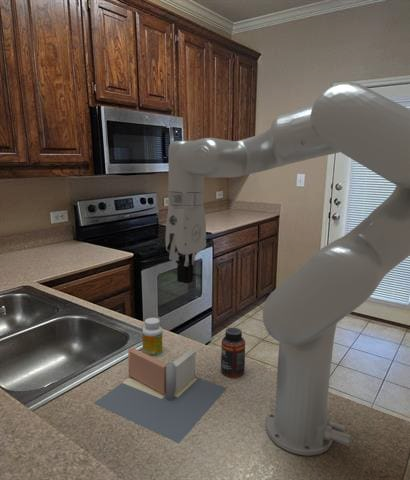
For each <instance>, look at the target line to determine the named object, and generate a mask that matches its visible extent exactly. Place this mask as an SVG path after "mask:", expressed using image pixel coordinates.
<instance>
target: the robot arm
mask: <svg viewBox="0 0 410 480" xmlns="http://www.w3.org/2000/svg"><path fill="white" fill-rule="evenodd" d="M338 153H341V154H343V155H345V156H346V157H348V158H349V159H351V160H353V161H354V162H356V163H358V164H360V165H361V166H363V167H364V168H366V169H368V170H370V171H371V172H373V173H375V174H376V175H378V176H380V177H382V178H383V179H385V180H386V181H388V182H389V183H392V184H393V185H395V188H394V190H393V192H391V194H390V195H389V196H388V197H387V198H386V199H384V201H383V202H381V203H380V205H378V206H377V207H376V208H375V209H374V210H373V211H372V212H370V213H369V214H368V216H367V217H365V218H364V219H362V221H361V222H360V223H358V224H357V225H356V226H355V227H354V228H352V229H351V230H350V231H349V232H348V233H346V234H345V235H343V236H341V237H339V238H337V239H336V240H333V241H332V242H330V243H329V244H327V245H325V246H323V247H322V248H321V249H319V250H318V251H317V252H315V253H314V254H313V255H312V256H311V257H310V258H309V259H307V260H306V261H305V262H303V264H302V265H300V266H299V268H297V269H296V271H294V272H293V273H292V274H291V275H290V276H288V278H286V279H285V280H284V281H283V282H282V283H280V285H278V287H276V288H275V289H274V290H273V291H272V292H271V293H269V295H268V296H267V298H266V300H265V302H264V304H263V307H262V322H263V325H264V329H265V330H266V331H267V333H268V334H269V336H271V337H272V339H273V340H275V341H277V342H278V344H279V345H278V355H277V356H278V358H277V370H276V371H277V375H276V389H275V402H274V403H275V404H274V409H272V411H270V412H269V413H268V414H267V417H266V421H265V429H266V433H267V434H268V437H269V438H270V439H271V440H272V442H274V444H276V445H277V446H278V447H280V448H281V449H284V450H286V451H287V452H289V453H292V454H295V455H300V456H317V455H320V454H323V453H324V452H326V451H327V450H329V449H330V447H331V446H332V444H333V441H334V442H336V443H338V444H341V445H342V446H345V447H349V446H350V442H351V441H350V440H351V435H350V434H349V433H346V432H345V431H346V425H344V424H341V423H337V422H334V421H333V420H332V419H330V416H331V415H330V414H331V411H329V410H328V409H327V408H328V401H329V399H328V398H329V389H330V379H331V367H332V359H333V350H334V341H335V334H336V330H337V329H336V328H337V323H339V322H341V321H342V320H343V319H344V318H346V317H348V315H350V314H351V313H352V312H354V311H355V310H357V309H358V308H359V307H361V306H362V305H363V304H364V303H365V302H366V301H367V300H369V298H370V297H371V296H372V295H373V294H374V292H375V291H376V289H377V288H378V286H379V285H380V284H381V282H382V281H383V279H384V278H385V277H386V276H387V274H388V273H389V272H391V271H392V270H394V269H395V268H396V267H397V266H398V265H400V264H401V263H402V262H403V261H405V260H406V259H407V258H409V257H410V108H408V107H406V106H404V105H403V104H400V103H398V102H396V101H393V100H392V99H390V98H388V97H386V96H383V95H381V94H380V93H377V91H374V90H373V89H370V88H368V86H365V85H362V84H360V83H356V82H352V81H351V82H350V81H348V82H347V81H346V82H340V83H336V84H334V85H331V86H330V87H328V88H326V89H325V90H324V91H323V92H322V93H320V94H319V95H318V96H317V98H316V100H315V101H314V103H313V104H312V105H309V106H306V107H303V108H299V109H296V110H292V111H290V112H287V113H283V114H280V115H277V116H276V117H274V118H273V120H272V123H271V126H270V127H269V128H268V130H266V131H265V132H262V133H260V134H257V135H253V136H251V137H247V138H243V139H240V140H236V141H235V140H234V141H233V140H228V139H224V138H223V139H222V138H216V137H205V138H199V139H196V140H175V141H172V142H171V143H170V144H169V146H168V205H167V206H168V208H167V216H166V222H165V223H166V224H165V250H166V252H168V254H169V256H168V257H169V258H168V259H169V261H175V265H176V266H177V268H176V269H177V270H176V271H177V275H176V276H177V278H176V279H177V282H178V283H183V284H187V285H188V284H189V285H190V283H193V281H194V264H195V262H196V261H195V260H196V255H197V254H199V253H200V251H202V250H204V249H205V248H206V246H207V226H206V223H207V222H206V221H207V220H206V214H205V213H206V212H205V208H204V186H205V185H204V178H205V177H206V178H237V177H238V178H239V177H243V176H247V175H252V174H256V173H261V172H264V171H265V172H266V171H268V170H272V169H275V168H279V167H284V166H286V165H290V164H294V163H299V162H303V161H306V160H311V159H315V158H319V157H325V156H329V155H335V154H338Z"/></svg>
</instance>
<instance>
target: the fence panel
mask: <svg viewBox="0 0 410 480" xmlns="http://www.w3.org/2000/svg"><path fill="white" fill-rule="evenodd" d="M127 352H128V354H127V355H128V356H127V357H128V359H127V360H128V377H133V378H135V379H136V380H138V381H140V382H142V383H144V384H146V385H148V386H149V387H151V388H153V389H155V390H157V391H159V392H160V393H162V394H165V393H166V364H167V362H165V361H162V360H160V359H158V358H156V357H151V356H149V355H147V354H145V353H143V351H141V350H138V349H136V348H133V347H129V348H128V349H127Z"/></svg>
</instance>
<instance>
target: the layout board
mask: <svg viewBox="0 0 410 480" xmlns="http://www.w3.org/2000/svg"><path fill="white" fill-rule="evenodd" d="M196 353H197V352H196V350H192V349H189V350H187V351H186V352H185V353H184V354H183V355H181V356H180V357H179V358H177V359H176V360H175V361H172V362H166V393H165V394H162V393H160V392H159V391H157V390H155V389H153V388H151V387H149V386H148V385H146V384H144V383H142V382H140V381H138V380H136V379H135V378H133V377H131V376H128V377H127V378H126V379H125V380H124V381H122V382H121V383H120V384H118V385H117V386H115V387H114V388H113V389H112V390H110V391H109V392H107V393H105V395H103V396H101V397H100V398H99V399H97V400H96V401H94V402H93V404H94V405H97V406H99V407H100V408H102V409H104V410H108V412H109V411H110V412H111V413H114V414H115V415H118V416H120V417H123V419H126V420H128V421H131V422H133V423H135V424H137V425H139V426H141V427H143V428H145V429H147V430H150V431H151V432H154V433H156V434H158V435H160V436H162V437H165V438H167V439H168V440H171V441H174V442H175V443H178V444H180V443H181V442H182V440H183V439H184V438H185V437H186V436H187V435H188V433H189V432H190V431H191V430H192V429H193V428H194V426H195V425H197V423H199V421H200V420H201V419H202V417H203V416H205V414H206V413H207V412H208V411H209V410H210V408H212V406H213V405H214V404H215V403H216V402H217V401H218V400H219V398H220V397H221V396H222V395H223V393H225V391H227V389H228V387H226V386H223V385H220V384H217V383H215V382H212V381H209V380H206V379H203V378H201V377H197V376H196V361H197V360H196V359H197V357H196Z"/></svg>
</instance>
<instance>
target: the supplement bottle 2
mask: <svg viewBox="0 0 410 480" xmlns="http://www.w3.org/2000/svg"><path fill="white" fill-rule="evenodd" d="M220 348H221V349H220V350H221V351H220V355H221V356H220V372H221V374H222V375H223V376H225V377H227V378H231V379H237V378H240V377H242V376H243V375H244V374H245V369H246V368H245V365H246V363H245V362H246V341H245V339H244V338H243V335H242V329H241V328H239V327H238V328H237V327H228V328H226V330H225V335H224V337H222V339H221V347H220Z"/></svg>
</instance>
